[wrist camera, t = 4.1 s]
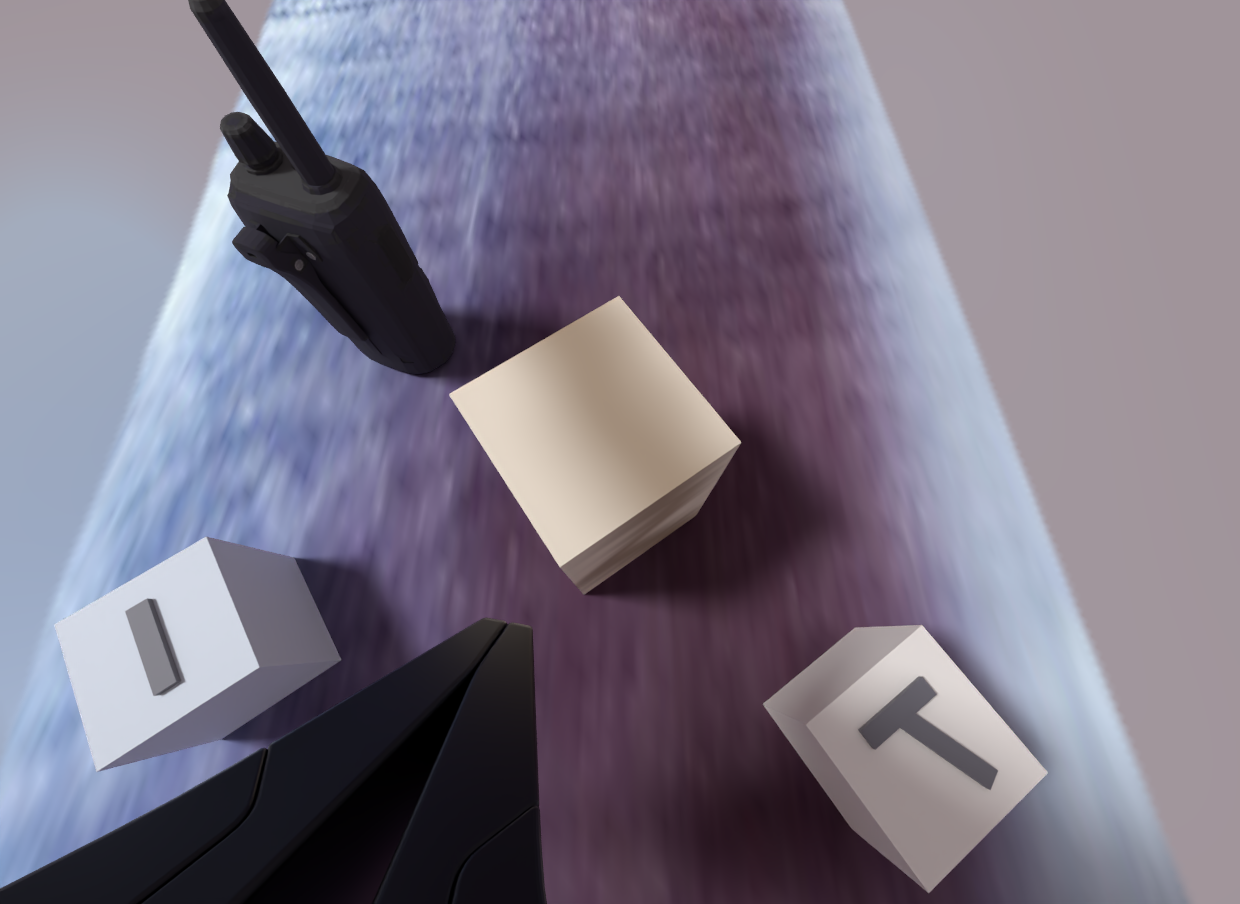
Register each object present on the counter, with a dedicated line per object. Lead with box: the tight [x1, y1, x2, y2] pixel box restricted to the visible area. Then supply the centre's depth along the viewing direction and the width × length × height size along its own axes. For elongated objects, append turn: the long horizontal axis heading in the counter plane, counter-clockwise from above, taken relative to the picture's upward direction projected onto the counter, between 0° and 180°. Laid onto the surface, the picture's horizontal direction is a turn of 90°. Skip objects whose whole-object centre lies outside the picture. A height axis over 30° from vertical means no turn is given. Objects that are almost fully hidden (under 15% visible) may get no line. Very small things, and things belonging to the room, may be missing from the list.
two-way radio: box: [188, 0, 455, 374], centre depth 18 cm, size 6×4×15 cm
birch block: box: [449, 296, 741, 595], centre depth 19 cm, size 6×6×9 cm
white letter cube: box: [54, 537, 341, 772], centre depth 18 cm, size 5×5×5 cm
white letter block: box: [763, 625, 1048, 893], centre depth 17 cm, size 5×5×5 cm
